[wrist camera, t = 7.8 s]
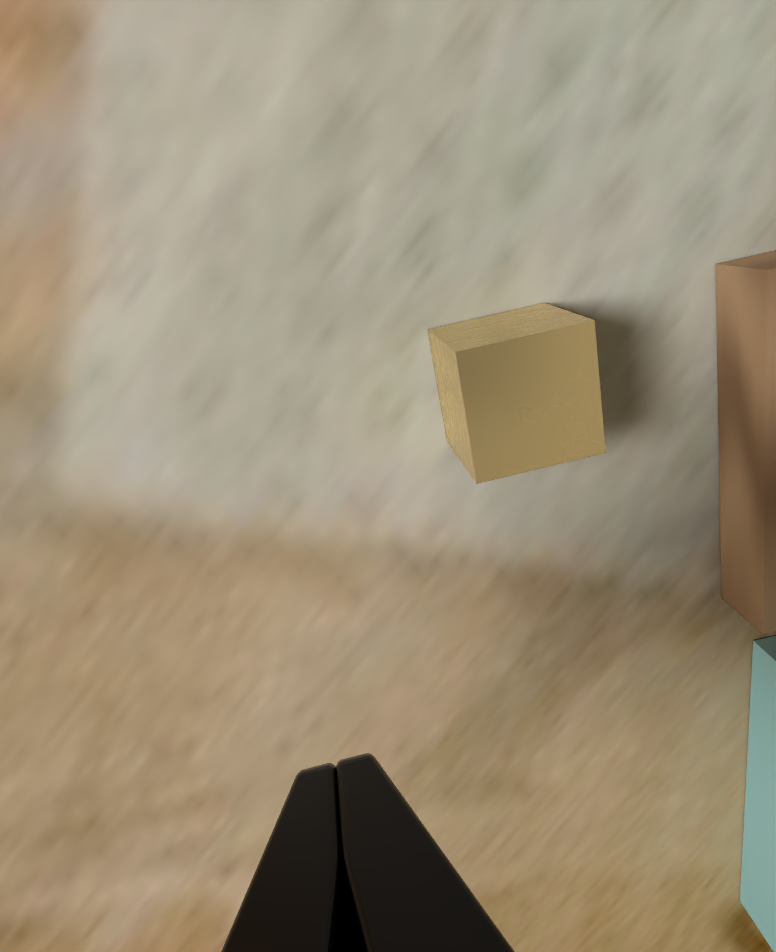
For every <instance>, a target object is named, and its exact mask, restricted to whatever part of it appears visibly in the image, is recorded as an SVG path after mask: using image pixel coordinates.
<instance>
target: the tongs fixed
mask: <svg viewBox="0 0 776 952" xmlns="http://www.w3.org/2000/svg"><path fill="white" fill-rule="evenodd" d="M716 308H717V366H718V425H719V483H720V542H721V598H722V599H723V600H725V601H726V602H727V603H728V604H729V605H730V606H731V607H733V608H734V609H735V610H736V611H737V612H738V613H739V614H740V615H742V616H743V617H744V618H745V619H746V620H747V621H748V622H750V623H751V624H752V625H753V626H754V627H755V628H756V629H758V630H759V631H760V632H761V633H762V634H763V635H764V634H768V633H772V632H775V631H776V250H775V251H771V252H766V253H762V254H757V255H753V256H749V257H744V258H740V259H735V260H731V261H727V262H722V263H718V264H716Z"/></svg>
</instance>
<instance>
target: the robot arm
mask: <svg viewBox="0 0 776 952" xmlns="http://www.w3.org/2000/svg"><path fill="white" fill-rule="evenodd" d="M221 952H514V950H513V949H512V948H511V946H510V945H509V944H508V942H507V941H506V939H505V938H504V937H503V935H502V934H501V932H500V931H499V930H498V928H497V927H496V925H495V924H494V923H493V921H492V920H491V918H490V917H489V916H488V914H487V913H486V911H485V910H484V909H483V907H482V906H481V905H480V903H479V902H478V900H477V899H476V898H475V896H474V895H473V893H472V892H471V891H470V889H469V888H468V886H467V885H466V884H465V882H464V881H463V879H462V878H461V877H460V875H459V874H458V872H457V871H456V870H455V868H454V867H453V866H452V864H451V863H450V861H449V860H448V859H447V857H446V856H445V854H444V853H443V852H442V850H441V849H440V847H439V846H438V845H437V843H436V842H435V840H434V839H433V838H432V836H431V835H430V833H429V832H428V831H427V829H426V828H425V827H424V825H423V824H422V822H421V821H420V820H419V818H418V817H417V815H416V814H415V813H414V811H413V810H412V808H411V807H410V806H409V804H408V803H407V801H406V800H405V799H404V797H403V796H402V794H401V793H400V792H399V790H398V789H397V788H396V786H395V785H394V783H393V782H392V781H391V779H390V778H389V776H388V775H387V774H386V772H385V771H384V769H383V768H382V767H381V765H380V764H379V762H378V761H377V760H376V758H375V757H374V756H373V755H371V754H369V753H366V754H362V755H358V756H354V757H350V758H346V759H342V760H340V761H339V762H338V763H337V766H335V765H333V764H331V763H327V764H323V765H319V766H316V767H312V768H308V769H304V770H302V771H300V772H299V773H298V774H297V776H296V778H295V780H294V783H293V785H292V787H291V790H290V792H289V794H288V797H287V799H286V801H285V804H284V806H283V808H282V811H281V813H280V815H279V818H278V820H277V822H276V825H275V827H274V829H273V832H272V834H271V836H270V839H269V841H268V843H267V846H266V848H265V851H264V853H263V855H262V858H261V860H260V862H259V865H258V867H257V869H256V872H255V874H254V876H253V879H252V881H251V883H250V886H249V888H248V890H247V893H246V895H245V897H244V900H243V902H242V904H241V907H240V909H239V911H238V914H237V916H236V918H235V921H234V923H233V926H232V928H231V930H230V933H229V935H228V937H227V940H226V942H225V944H224V947H223V949H222V951H221Z"/></svg>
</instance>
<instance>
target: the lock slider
mask: <svg viewBox="0 0 776 952" xmlns="http://www.w3.org/2000/svg"><path fill="white" fill-rule="evenodd" d="M428 334H429V340H430V346H431V351H432V357H433V363H434V368H435V374H436V380H437V385H438V391H439V397H440V403H441V408H442V414H443V420H444V425H445V431H446V437H447V442H448V444H449V445H450V447H451V448H452V449H453V451H454V452H455V454H456V455H457V456H458V458H459V459H460V461H461V462H462V463H463V465H464V466H465V468H466V469H467V471H468V472H469V473H470V475H471V476H472V478H473V479H474V480H475V482H476V483H477V484H478V483H482V482H486V481H490V480H494V479H498V478H502V477H507V476H511V475H515V474H519V473H523V472H527V471H532V470H536V469H540V468H544V467H548V466H552V465H556V464H561V463H565V462H569V461H573V460H577V459H581V458H585V457H590V456H594V455H598V454H602V453H606V450H605V438H604V426H603V414H602V402H601V390H600V379H599V367H598V355H597V343H596V331H595V320H593V319H590V318H587V317H584V316H581V315H578V314H576V313H573V312H570V311H567V310H564V309H561V308H558V307H555V306H552V305H549V304H546V303H542V304H537V305H533V306H529V307H524V308H520V309H515V310H511V311H507V312H502V313H498V314H493V315H489V316H484V317H480V318H476V319H471V320H467V321H462V322H458V323H454V324H449V325H445V326H440V327H436V328H432V329H428Z"/></svg>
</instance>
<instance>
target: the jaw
mask: <svg viewBox="0 0 776 952" xmlns="http://www.w3.org/2000/svg"><path fill="white" fill-rule="evenodd" d="M740 901H741V903H742V904H743V906H744V908H745V909H746V911H747V912H748V914H749V915H750V917H751V918H752V920H753V921H754V923H755V924H756V926H757V927H758V929H759V930H760V932H761V933H762V935H763V936H764V938H765V939H766V941H767V942H768V944H769V945H770V947H771V948H772V950H773V951H774V952H776V636H772V637H768V638H763V639H759V640H754V641H753V657H752V676H751V696H750V715H749V734H748V754H747V773H746V793H745V812H744V832H743V851H742V871H741V890H740Z"/></svg>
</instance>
